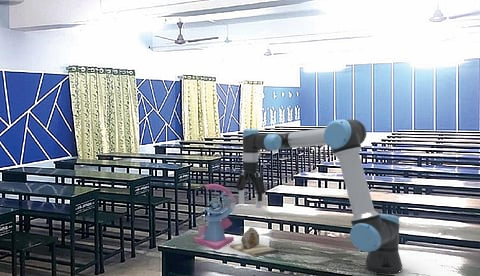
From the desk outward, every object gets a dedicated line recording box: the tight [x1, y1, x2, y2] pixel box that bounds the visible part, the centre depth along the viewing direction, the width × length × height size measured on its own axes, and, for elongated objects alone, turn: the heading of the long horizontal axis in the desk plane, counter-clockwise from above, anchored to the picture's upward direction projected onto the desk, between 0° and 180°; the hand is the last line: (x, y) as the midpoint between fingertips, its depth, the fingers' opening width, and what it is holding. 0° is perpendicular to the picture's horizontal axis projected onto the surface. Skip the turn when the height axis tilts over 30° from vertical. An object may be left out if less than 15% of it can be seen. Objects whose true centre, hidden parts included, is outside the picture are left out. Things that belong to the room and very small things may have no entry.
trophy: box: [193, 183, 237, 251], centre depth 248 cm, size 20×17×30 cm
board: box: [229, 242, 279, 258], centre depth 242 cm, size 20×14×1 cm
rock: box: [240, 227, 260, 249], centre depth 244 cm, size 12×7×10 cm, turn 148°
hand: (249, 205), depth 243 cm, fingers open, 13 cm apart
